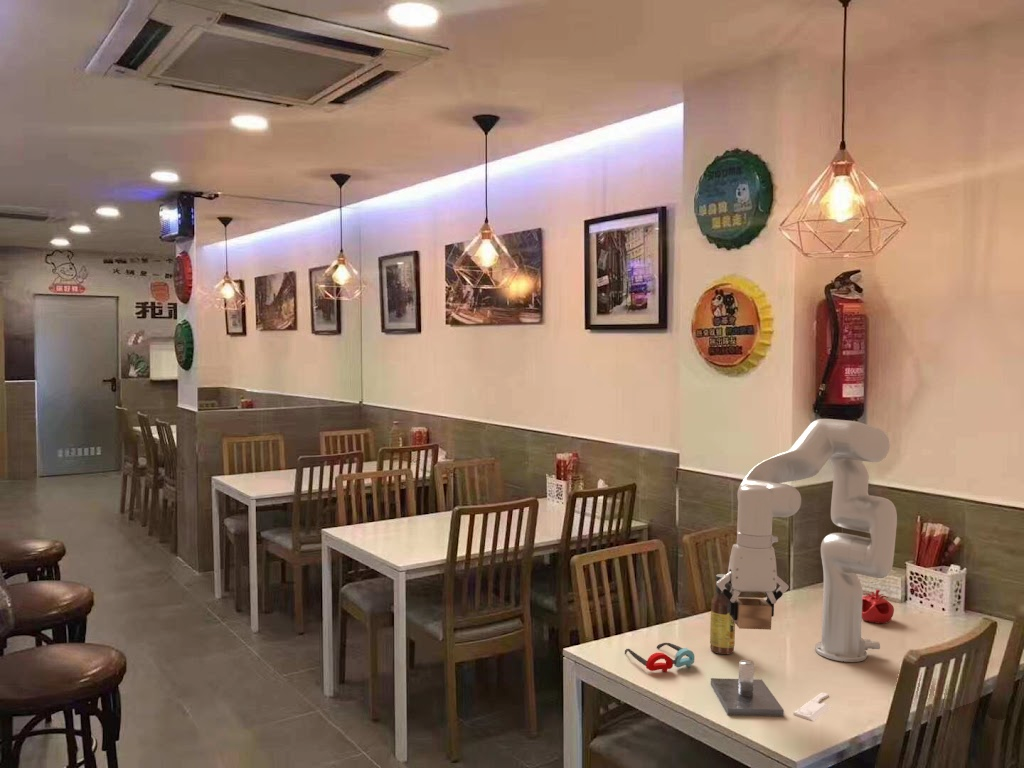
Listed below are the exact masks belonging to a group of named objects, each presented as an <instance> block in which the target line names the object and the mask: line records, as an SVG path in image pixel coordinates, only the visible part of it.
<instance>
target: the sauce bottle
mask: <svg viewBox="0 0 1024 768" xmlns="http://www.w3.org/2000/svg"><path fill="white" fill-rule="evenodd" d="M726 574H727V573H726ZM726 574H725V573H718V574H716V575H715V583H716V582H717V581H718V580H720V579H721V578H722V577H723V576H725V575H726ZM725 587H726V589H727V590H728V591H729V592H730V590H731V589H732V586H730V585H729V584H728V582H727V583H726V584H725ZM710 607H711V609H710V623H709V624H710V626H709V627H710V628H709V629H710V630H709V631H710V632H709V634H710V635H709V636H710V637H709V644H710V646H709V647H710V651H712V652H713V653H716V654H719V655H720V654H721V655H730V654H733V652H734V649H735V641H736V640H735V639H736V638H735V634H736V624H735V622H734V621H733V620H732V619H731V615H730V614H729V599H728V598H727V597H726V596H725V595H724V593H723V592H722V591H721V590H720V588H719V587H718V586H717V585H716V588H715V593H714V595H713V596H712V598H711V605H710Z"/></svg>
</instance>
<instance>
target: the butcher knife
mask: <svg viewBox="0 0 1024 768" xmlns="http://www.w3.org/2000/svg"><path fill="white" fill-rule="evenodd" d="M829 695H830V694H829V693H825V692H822V691H821V692H820V693H819V694H817V695H816V696H815V697H813V698H812V699H810V700H809V701H807V702H806V703H804V704H802V706H800V707H799V708H798V709H796V710H795V711H794V712H793V714H792V715H793V716H796V717H799V718H802V719H805V720H807V721H810V722H815V721H816V720H818V719H819V718H820V717H822V716H823V715H824V714H826V713H827V712H828V711H829V710H830V708H831V709H832V708H833V707H832V706H830V705H828V704H826V703H825V702H822V703H820V702H821V701H823V700H824V698H825V699H827V698H828V696H829ZM822 699H823V700H822ZM825 712H826V713H825Z"/></svg>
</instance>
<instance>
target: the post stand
mask: <svg viewBox="0 0 1024 768" xmlns="http://www.w3.org/2000/svg"><path fill="white" fill-rule="evenodd" d="M754 673H755V663H754V661H751V660H749V659H748V660H747V659H741V660H739V663H738V678H713V677H712V678H711V677H710V686H711V688H712V690H713V691H714V693H715V695H716V697H717V699H718V700H719V702H720V704H721V706H722V708H723V709H724V711H725V713H726V716H741V715H742V716H743V715H744V716H746V717H748V716H749V717H751V716H752V717H781V718H782V717H784V714H785V713H784V712H785V711H784V708H783V707H782V706H781V704H780V702H779V701H778V700H777V698H776V697H775V696H774V695H773V693H772V691H771V690H770V689H769V687H768V686H767V685H766V683H765V682H764V681H763V679H756V678H755V675H754ZM754 678H755V679H754ZM742 716H741V717H742Z"/></svg>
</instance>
